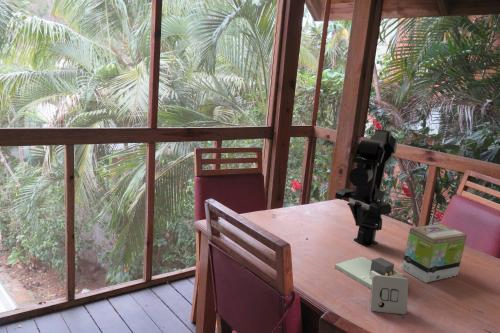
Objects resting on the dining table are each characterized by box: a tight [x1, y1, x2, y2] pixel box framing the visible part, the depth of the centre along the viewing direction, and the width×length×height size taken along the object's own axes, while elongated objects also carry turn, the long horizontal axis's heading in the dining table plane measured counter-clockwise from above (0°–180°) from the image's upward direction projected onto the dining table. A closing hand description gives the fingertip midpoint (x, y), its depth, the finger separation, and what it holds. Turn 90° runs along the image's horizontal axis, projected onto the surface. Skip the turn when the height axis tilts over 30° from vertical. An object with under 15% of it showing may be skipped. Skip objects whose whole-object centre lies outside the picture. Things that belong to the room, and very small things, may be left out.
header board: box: [334, 256, 404, 290], centre depth 124 cm, size 17×13×4 cm
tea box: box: [401, 223, 468, 284], centre depth 128 cm, size 15×10×15 cm, turn 117°
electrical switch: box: [369, 275, 410, 315], centre depth 106 cm, size 9×5×9 cm, turn 86°
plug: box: [370, 256, 395, 276], centre depth 121 cm, size 4×5×5 cm
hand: (358, 225), depth 132 cm, fingers closed
